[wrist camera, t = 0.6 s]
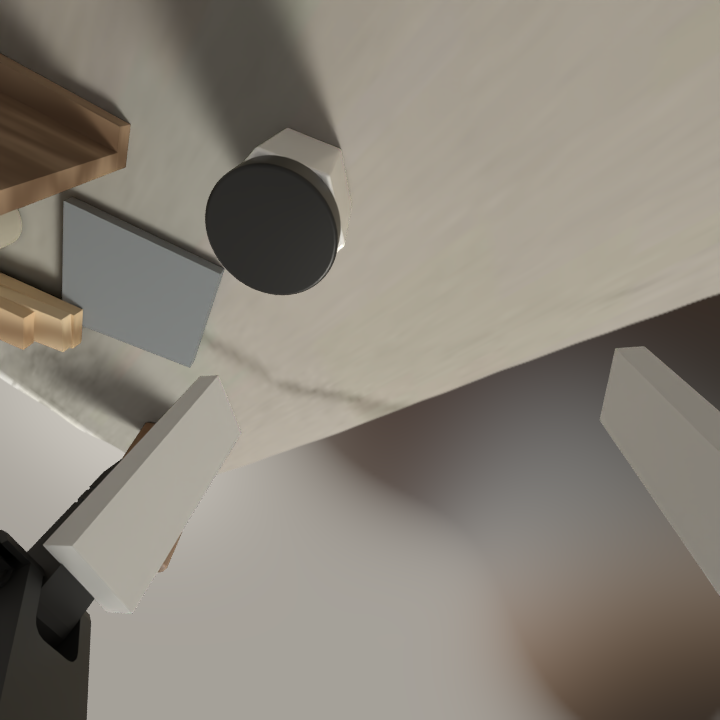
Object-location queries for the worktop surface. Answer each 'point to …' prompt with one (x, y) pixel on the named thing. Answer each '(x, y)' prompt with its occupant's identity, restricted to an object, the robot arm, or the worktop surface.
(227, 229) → the jar
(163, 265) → the mat
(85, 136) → the wooden board
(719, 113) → the worktop surface
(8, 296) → the offcut stack
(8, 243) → the travel mug
